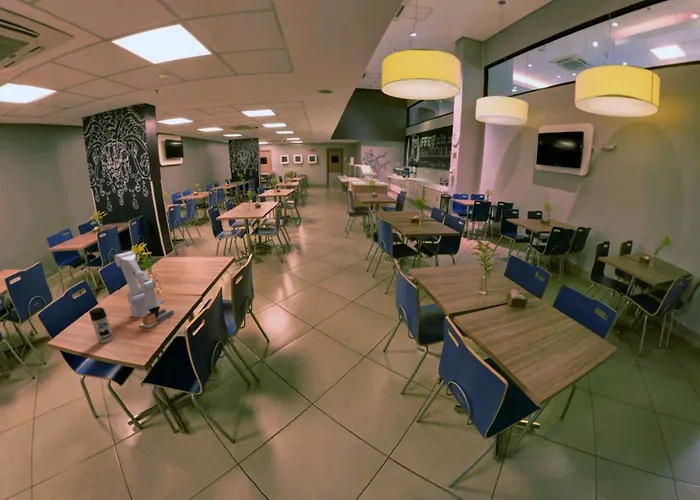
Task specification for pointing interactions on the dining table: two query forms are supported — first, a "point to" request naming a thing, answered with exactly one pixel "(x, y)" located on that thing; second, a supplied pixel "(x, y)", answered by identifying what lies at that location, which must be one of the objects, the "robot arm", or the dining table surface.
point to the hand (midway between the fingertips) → (155, 317)
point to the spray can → (101, 325)
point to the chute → (159, 318)
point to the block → (149, 318)
